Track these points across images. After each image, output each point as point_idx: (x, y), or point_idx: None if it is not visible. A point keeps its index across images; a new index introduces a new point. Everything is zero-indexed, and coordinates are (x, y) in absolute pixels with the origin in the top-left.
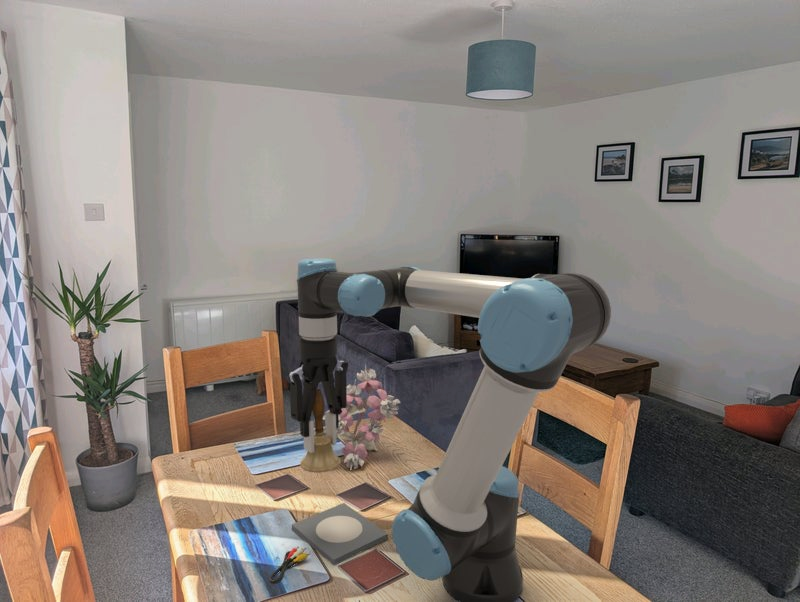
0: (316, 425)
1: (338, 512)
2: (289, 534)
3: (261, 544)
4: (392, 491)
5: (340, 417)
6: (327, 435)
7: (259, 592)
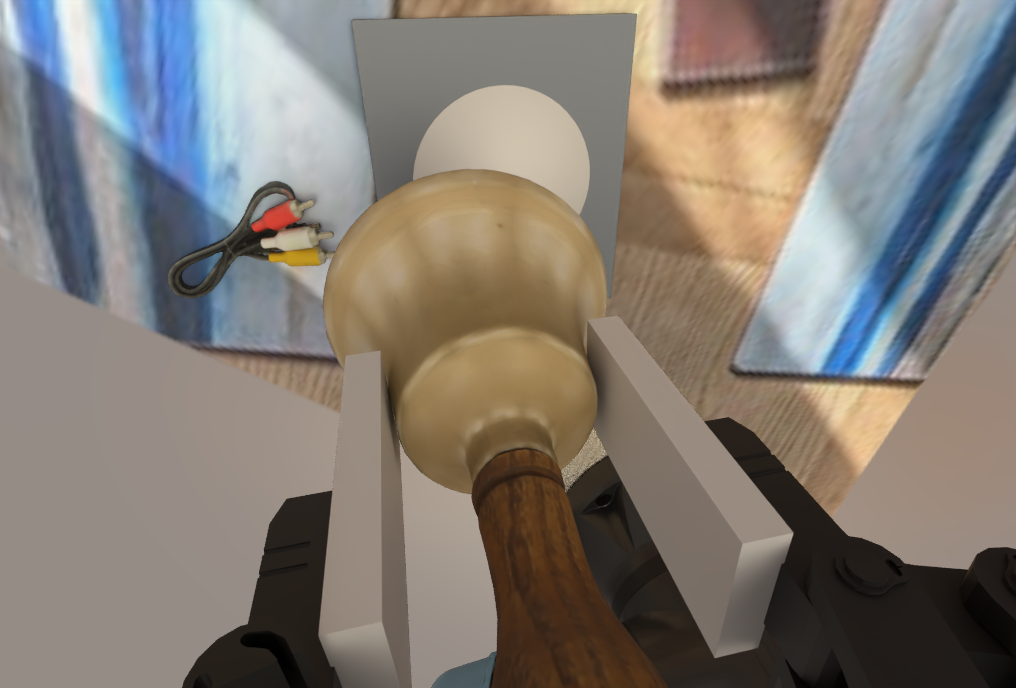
0: (488, 563)
1: (570, 72)
2: (329, 50)
3: (186, 41)
4: (850, 38)
5: None
6: (608, 381)
7: (123, 305)
